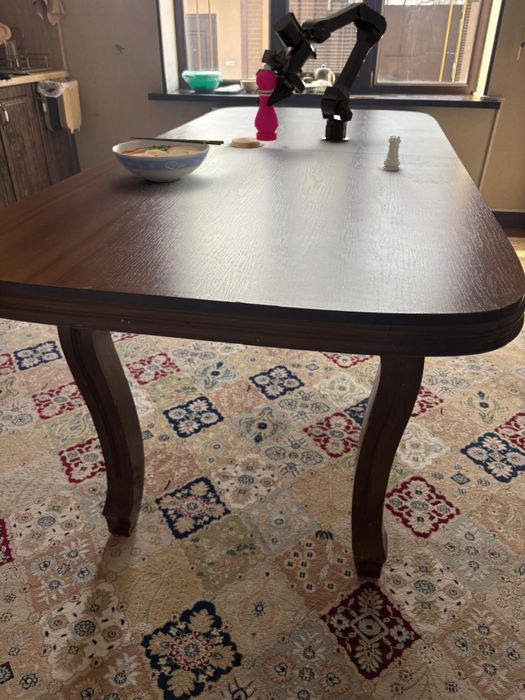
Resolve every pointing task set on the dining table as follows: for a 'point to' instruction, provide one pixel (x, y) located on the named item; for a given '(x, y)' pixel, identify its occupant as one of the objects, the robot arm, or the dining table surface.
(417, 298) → the dining table surface
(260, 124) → the pepper mill
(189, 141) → the ramen bowl
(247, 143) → the beige flat disc
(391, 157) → the rook chess piece
